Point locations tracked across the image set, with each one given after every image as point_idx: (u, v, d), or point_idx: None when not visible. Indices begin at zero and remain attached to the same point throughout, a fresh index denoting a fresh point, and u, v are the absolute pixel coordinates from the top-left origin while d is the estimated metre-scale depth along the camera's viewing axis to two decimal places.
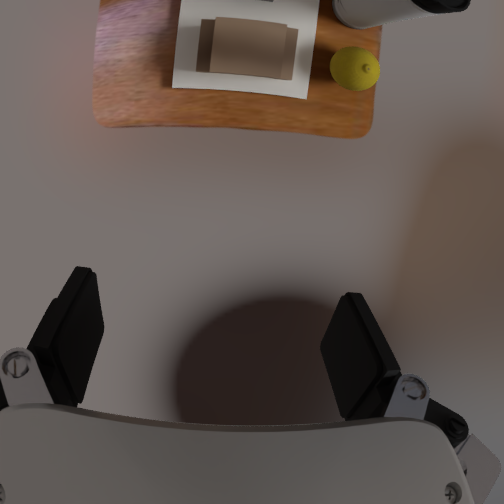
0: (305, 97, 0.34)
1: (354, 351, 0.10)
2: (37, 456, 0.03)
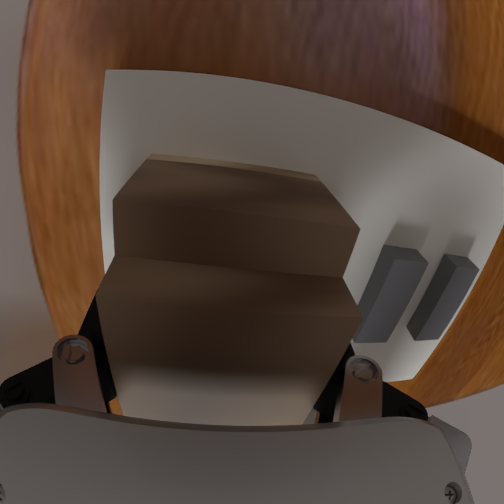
0: None
1: None
2: (37, 456, 0.03)
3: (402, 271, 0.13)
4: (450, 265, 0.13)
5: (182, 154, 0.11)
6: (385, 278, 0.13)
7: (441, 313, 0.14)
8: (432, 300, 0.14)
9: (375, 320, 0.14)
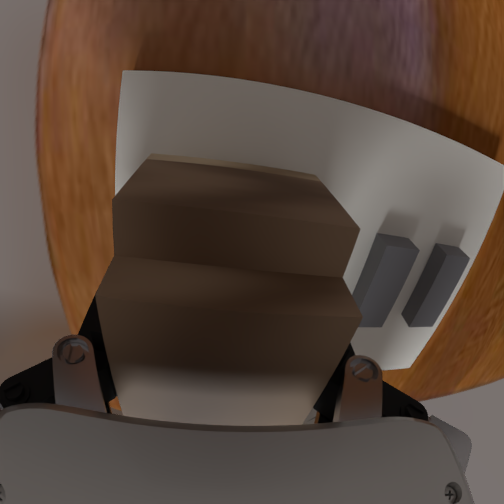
0: None
1: None
2: (37, 456, 0.03)
3: (394, 257, 0.14)
4: (441, 253, 0.14)
5: (192, 147, 0.12)
6: (378, 263, 0.14)
7: (434, 300, 0.16)
8: (425, 287, 0.15)
9: (370, 304, 0.15)
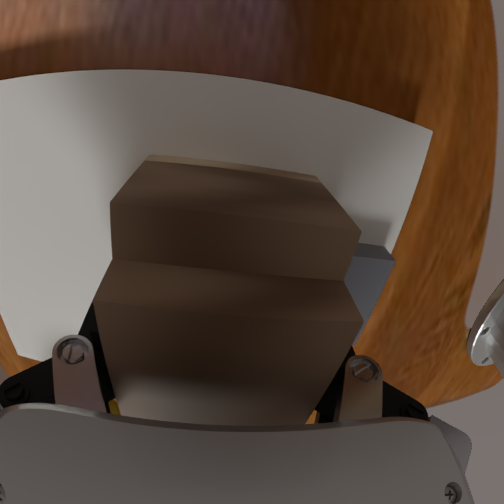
0: (20, 354, 0.15)
1: None
2: (37, 456, 0.03)
3: None
4: None
5: (8, 149, 0.09)
6: None
7: None
8: None
9: None
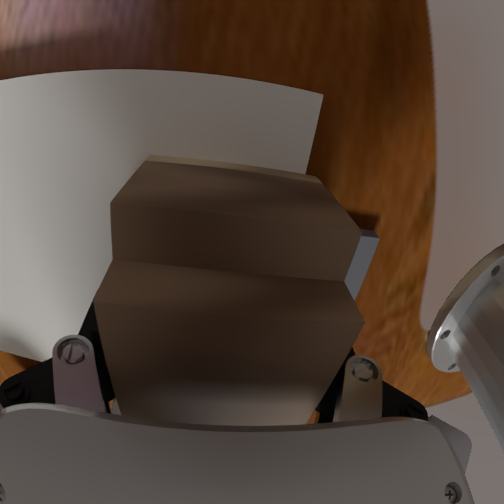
0: None
1: None
2: (37, 456, 0.03)
3: None
4: None
5: None
6: None
7: None
8: None
9: None
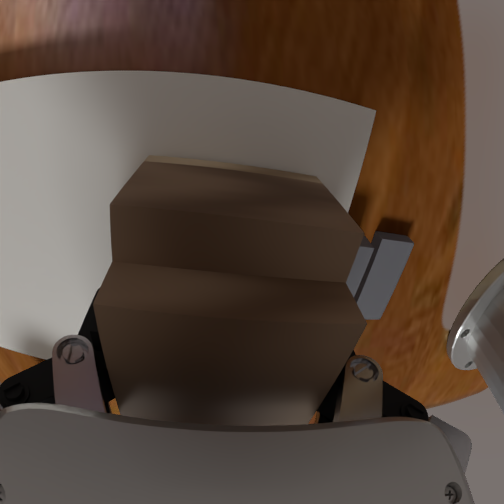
0: None
1: None
2: (37, 456, 0.03)
3: None
4: None
5: None
6: None
7: None
8: None
9: None
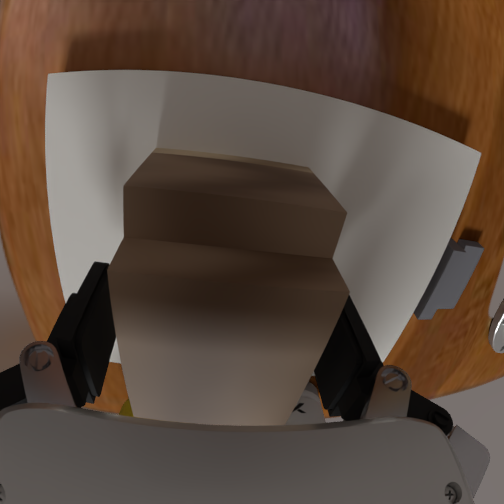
0: None
1: (336, 342, 0.10)
2: (37, 456, 0.03)
3: None
4: None
5: (110, 143, 0.11)
6: None
7: None
8: None
9: None
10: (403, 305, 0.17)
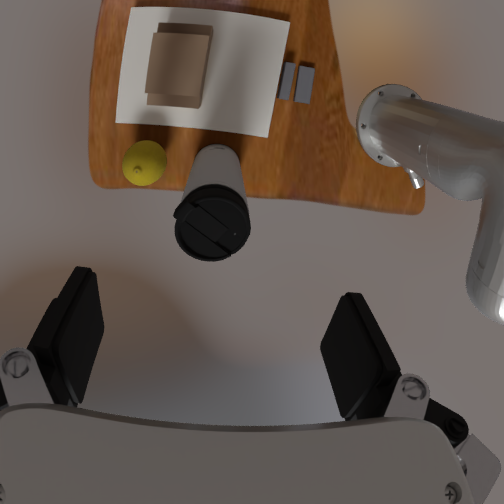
0: (117, 121, 0.36)
1: (354, 351, 0.10)
2: (37, 456, 0.03)
3: (283, 66, 0.35)
4: None
5: (150, 27, 0.30)
6: (282, 69, 0.36)
7: None
8: None
9: (279, 86, 0.36)
10: (267, 89, 0.36)
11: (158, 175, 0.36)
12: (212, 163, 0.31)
